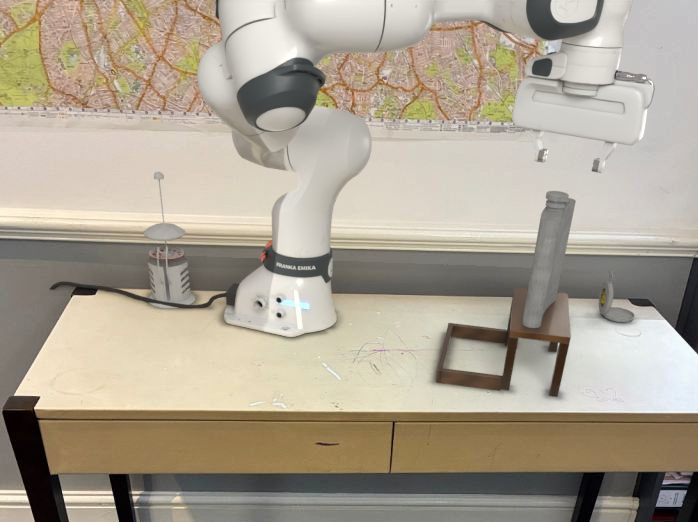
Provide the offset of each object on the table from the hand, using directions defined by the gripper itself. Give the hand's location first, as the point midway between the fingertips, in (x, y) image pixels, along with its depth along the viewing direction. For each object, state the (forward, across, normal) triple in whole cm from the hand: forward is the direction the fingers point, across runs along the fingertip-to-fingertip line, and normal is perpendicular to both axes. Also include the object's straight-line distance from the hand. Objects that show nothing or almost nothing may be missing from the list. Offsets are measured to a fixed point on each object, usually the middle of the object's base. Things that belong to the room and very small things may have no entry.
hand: (568, 166), depth 124 cm
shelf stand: (+35, +5, +1) cm, 36 cm away
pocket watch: (+35, -6, -34) cm, 49 cm away
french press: (+36, +73, +15) cm, 83 cm away
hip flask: (+24, 0, 0) cm, 24 cm away
